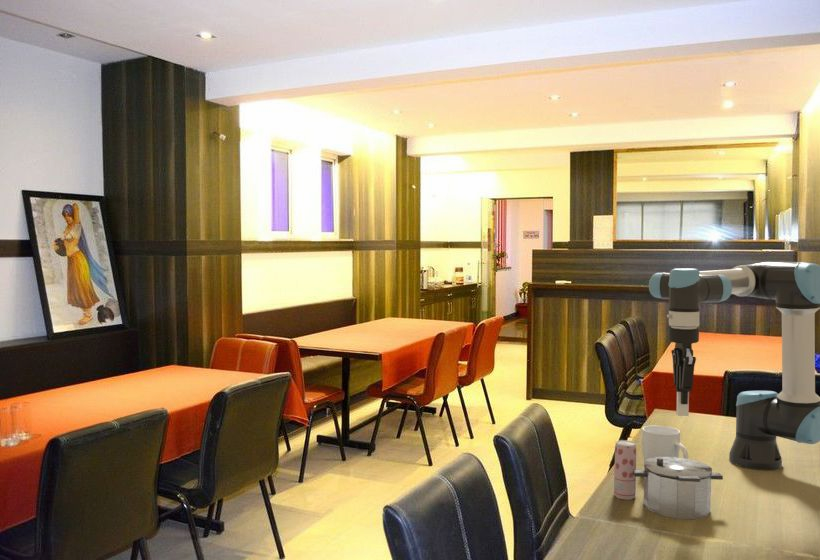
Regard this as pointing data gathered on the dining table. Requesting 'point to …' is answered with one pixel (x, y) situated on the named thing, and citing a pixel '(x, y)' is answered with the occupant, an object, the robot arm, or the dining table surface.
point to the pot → (677, 495)
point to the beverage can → (625, 469)
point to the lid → (678, 468)
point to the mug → (661, 442)
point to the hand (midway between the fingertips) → (682, 415)
